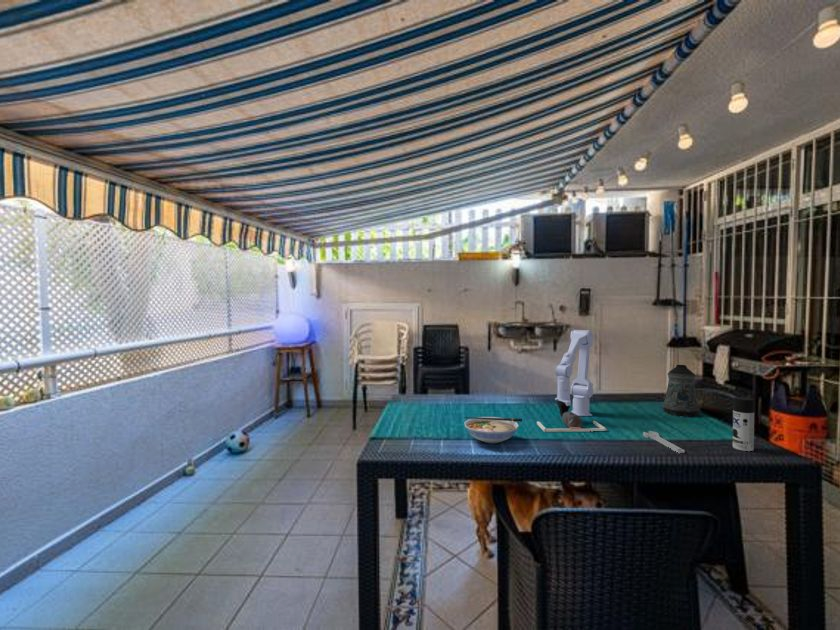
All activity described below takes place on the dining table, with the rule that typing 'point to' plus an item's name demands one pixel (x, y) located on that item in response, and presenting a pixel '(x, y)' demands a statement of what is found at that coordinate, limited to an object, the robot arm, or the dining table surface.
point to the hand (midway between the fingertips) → (563, 416)
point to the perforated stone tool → (571, 419)
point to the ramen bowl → (491, 428)
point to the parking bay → (574, 428)
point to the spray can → (743, 424)
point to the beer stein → (681, 393)
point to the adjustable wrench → (662, 441)
